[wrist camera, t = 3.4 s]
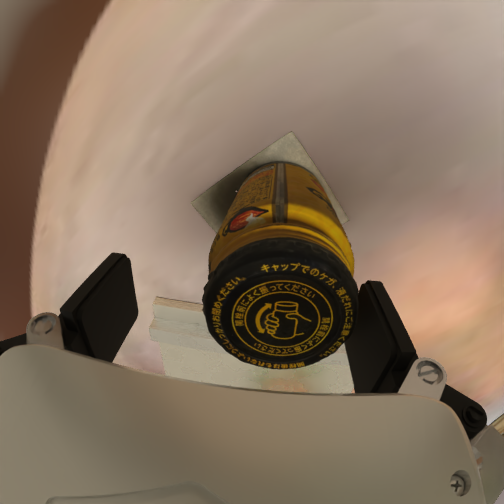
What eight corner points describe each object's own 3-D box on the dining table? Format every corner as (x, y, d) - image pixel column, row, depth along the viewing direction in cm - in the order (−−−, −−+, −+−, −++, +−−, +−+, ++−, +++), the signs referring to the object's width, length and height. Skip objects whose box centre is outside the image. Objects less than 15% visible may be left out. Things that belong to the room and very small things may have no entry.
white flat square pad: (156, 297, 24) (146, 314, 22) (380, 323, 23) (387, 342, 21) (176, 404, 33) (171, 419, 30) (328, 422, 32) (329, 437, 29)
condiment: (348, 219, 19) (408, 341, 9) (252, 275, 22) (226, 411, 12) (291, 130, 17) (307, 158, 6) (191, 201, 20) (102, 304, 9)
